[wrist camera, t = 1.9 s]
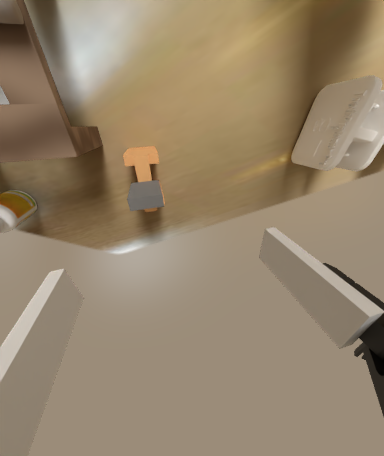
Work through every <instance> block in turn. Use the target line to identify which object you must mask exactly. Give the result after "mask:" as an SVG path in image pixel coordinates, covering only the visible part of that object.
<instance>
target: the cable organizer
mask: <svg viewBox="0 0 384 456" xmlns="http://www.w3.org/2000/svg"><path fill="white" fill-rule="evenodd" d="M381 87H382V80H381V79H380V78H378V77H376V76H374V75H369V76H365V77H361V78H356V79H352V80H347V81H343V82H339V83H334V84H330V85H327V86H325V87H324V88H323V89H322V90H321V91H320V92H319V93H318V95H317V97H316V98H315V100H314V103H313V105H312V107H311V110H310V112H309V114H308V117H307V119H306V122H305V124H304V126H303V129H302V131H301V133H300V136H299V138H298V140H297V142H296V145H295V147H294V150H293V152H292V156H291V160H292V162H293V163H295V164H299V165H303V166H308V167H312V168H316V169H320V170H325V171H328V170H331V169H333V168H334V167H337V168H342V169H347V170H351V171H361V170H363V169H365V168H366V167H367V166H368V165H369V164H370V163H371V162H372V161H373V159H374V158H375V156H376V154H377V153H378V151H379V150H380V148H381V147H382V145H383V144H384V90H382V91H380V90H381Z"/></svg>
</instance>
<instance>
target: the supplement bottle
mask: <svg viewBox="0 0 384 456" xmlns="http://www.w3.org/2000/svg"><path fill="white" fill-rule="evenodd" d="M36 210H37V204H36V202H35V200H34V199H33V198H32V197H31V196H30V195H29V194H27V193H25V192H22V191H19V190H9V191H6V192H4V193H2V194H0V233H5V232H8V231H11V230H13V229H14V228H15V227H17V226H18V225H19V224H21V223H22V222H23V221H24V220H26V219H27V218H28V217H30V216H31V215H32V214H33V213H34V212H35V211H36Z"/></svg>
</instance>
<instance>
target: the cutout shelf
mask: <svg viewBox="0 0 384 456" xmlns="http://www.w3.org/2000/svg"><path fill="white" fill-rule="evenodd" d="M0 85H1V87H2V89H3V91H4V93H5V95H6V97H7V99H8V101H9V103H10V104H9V105H0V163H2V162H15V161H28V160H41V159H54V158H67V157H78V156H80V155H82V154H85V153H87V152H89V151H91V150H94V149H96V148H98V147H100V146H103V145H102V141H101V138H100V135H99V131H98V128H97V127H71V126H70V123H69V121H68V118H67V115H66V112H65V110H64V107H63V104H62V102H61V99H60V96H59V94H58V91H57V88H56V86H55V83H54V80H53V78H52V75H51V72H50V70H49V67H48V64H47V62H46V59H45V56H44V53H43V51H42V48H41V45H40V43H39V40H38V37H37V35H36V32H35V29H34V27H33V24H32V21H31V19H30V16H29V13H28V11H27V8H26V5H25V3H24V0H0Z"/></svg>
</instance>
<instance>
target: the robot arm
mask: <svg viewBox="0 0 384 456" xmlns="http://www.w3.org/2000/svg"><path fill="white" fill-rule="evenodd" d="M259 258H260V259H261V260H262V261H263V263H264V264H265V265H266V266H267V267H268V268H269V269H270V270H271V272H272V273H273V274H274V275H275V276H276V277H277V279H279V281H280V282H281V283H282V284H283V285H284V286H285V287H286V289H287V290H288V291H289V292H290V293H291V294H292V296H293V297H294V298H295V299H296V300H297V301H298V302H299V303H300V305H301V306H302V307H303V308H304V309H305V310H306V311H307V313H308V314H309V315H310V316H311V317H312V318H313V319H314V320H315V322H316V323H317V324H318V325H319V326H320V327H321V328H322V330H323V331H324V332H325V333H326V334H327V335H328V336H329V337H330V339H331V340H332V341H333V342H334V343H335V344H336V345H337V346H338V348H339V349H340V348H343V347H346V346H349V345H351V344H353V343H354V342H355V341H356V340H357V339H358V338H360V339H361V340H362V341H363V343H362V344H361V345H360V346H359V347H357V348H356V350H355V351H354V353H355V354H354V355H355V356H356V357H358V356H359V355H360V354H361V353H364V355H363V356H362V359H364V360H366V362H367V365H368V368H369V372H370V375H371V378H372V381H373V384H374V387H375V391H376V394H377V397H378V400H379V403H380V406H381V410H382V413H383V416H384V303H383V302H382V301H380V300H379V299H378V298H376V297H375V296H373V295H372V294H371V293H370V292H368V291H367V290H365V289H364V288H363V287H361V286H360V285H359V284H357V283H355V282H354V281H353V280H352V279H350V278H349V277H347V276H346V275H345V274H343V273H342V272H341V271H339V270H338V269H337V268H335V267H333V266H331V265H329V264H326V263H323V264H322V263H321V262H319V261H318V260H317V259H315V258H314V257H313V256H312V255H310V254H309V253H308V252H306V251H305V250H304V249H302V248H301V247H300V246H298V245H297V244H296V243H295V242H293V241H292V240H291V239H289V238H288V237H287V236H285V235H284V234H283V233H281V232H280V231H279V230H278V229H276V228H275V227H273V228H268V229H265V232H264V237H263V241H262V246H261V250H260V255H259ZM83 299H84V297H83V296H82V294H81V293H80V291H79V290H78V288H77V287H76V285H75V284H74V282H73V281H72V279H71V278H70V276H69V275H68V273H67V272H66V270H65V269H61V270H56V271H51V272H50V273H49V274H48V275H47V277H46V278H45V280H44V282H43V283H42V284H41V286H40V288H39V289H38V291H37V292H36V294H35V295H34V297H33V298H32V300H31V301H30V303H29V304H28V306H27V307H26V309H25V310H24V312H23V313H22V315H21V316H20V318H19V319H18V321H17V323H16V324H15V326H14V327H13V329H12V330H11V332H10V333H9V335H8V336H7V338H6V340H5V341H4V342H3V344H2V345H1V347H0V456H28V454H29V451H30V448H31V445H32V442H33V440H34V437H35V434H36V431H37V428H38V425H39V423H40V420H41V417H42V414H43V411H44V409H45V406H46V403H47V400H48V398H49V395H50V392H51V389H52V386H53V384H54V381H55V378H56V375H57V372H58V369H59V367H60V364H61V361H62V358H63V355H64V352H65V349H66V347H67V344H68V341H69V339H70V336H71V333H72V330H73V327H74V324H75V322H76V319H77V316H78V313H79V310H80V308H81V305H82V302H83Z"/></svg>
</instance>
